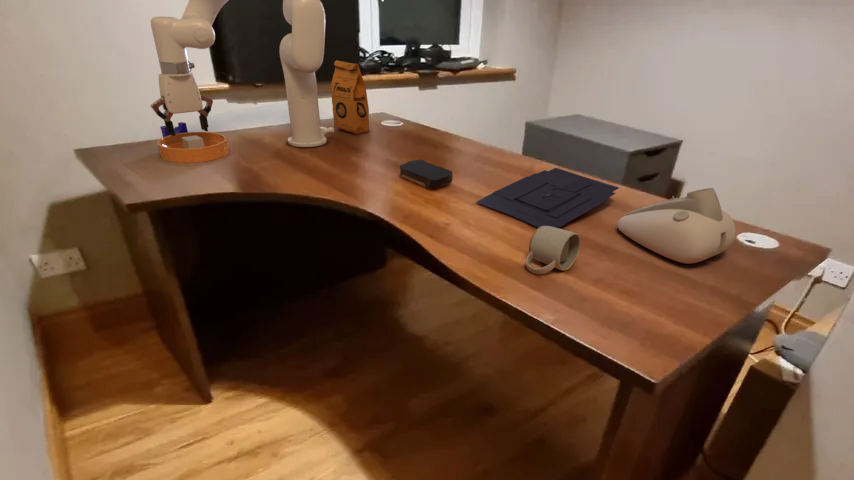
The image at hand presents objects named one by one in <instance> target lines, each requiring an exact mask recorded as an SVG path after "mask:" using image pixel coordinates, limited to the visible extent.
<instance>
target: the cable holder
mask: <svg viewBox="0 0 854 480" xmlns="http://www.w3.org/2000/svg"><path fill="white" fill-rule="evenodd" d="M160 131H161V134H162V138H163V137H166V136H169V135H170V134H169V133H168V132H167V130H166V126H165V125H162V126H160ZM174 131H175V134H179V133H186V132H189V131H188V127H187V123H186V122H184V121H181V122H179V121H178V122H177V126H174Z"/></svg>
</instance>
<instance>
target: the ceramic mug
mask: <svg viewBox="0 0 854 480" xmlns="http://www.w3.org/2000/svg"><path fill="white" fill-rule="evenodd" d="M580 248H581V237H580V235H579V234H578V233H577V232H575V231H571V230H566V229H562V228H555V227H551V226H541V227H537V228H536V229H535V230H534V232H533V233H532V235H531V237H530V239H529V243H528V251H529V253H528V255H527V256H526V259H525V265H526V269H527V270H528V271H529V272H530V273H531V274H534V275H544V274H547V273H549V272H551V271H552V270H553V269H557V270H559V271H563V272H565V271H568V270H569V269H570V268H571V267H572V266H573V265H574V263H575V262H576V260H577V258H578V255H579V252H580ZM533 259H534V260H536V261H538V262H540V263H541V264H542V263H543V264H545V266H542V267H538V268H537V267H533V266H532V265H531V264H530V263H531V261H532V260H533Z"/></svg>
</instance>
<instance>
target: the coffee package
mask: <svg viewBox="0 0 854 480" xmlns="http://www.w3.org/2000/svg"><path fill="white" fill-rule="evenodd" d="M333 65H334V68H335V69H334V72H333V74H332V80H331V82H330V93H331V104H332V116H333V124H334V125H333V128H336V129H338V130H342V131H345V132H347V133H350V134H351V133H352V134H354V135H358V134H363V133H368V132H370V108H369V101H368V100H369V99H368V95H367V87H366V86H365V85H366V84H365V80H364V78H363V75H362V72H361V69H360V66H359V64H358V63H351V62H347V61H341V60H335V61H334V62H333Z"/></svg>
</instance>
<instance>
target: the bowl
mask: <svg viewBox="0 0 854 480" xmlns="http://www.w3.org/2000/svg"><path fill="white" fill-rule="evenodd" d="M195 135H197V136H199V137H201V138H203V143H204V147H202V148H190V149H184V146H183V142H182V137H188V136H195ZM156 144H157V148H158V151H159V156H160V158H161V159H162V160H164V161H166V162H170V163H177V164H181V163H182V164H194V163H204V162H210V161H215V160H218V159H221V158H224V157H226V156H227V155H228V154H229V152H230V147H229V142H228V138H227V137H226V135H224V134H222V133H219V132H214V131H213V132H212V131H188V132H186V133H179V134H175V136H172V135H169V136H166V137H163V136H162V137H161V138H160V139H158V140H157V142H156Z"/></svg>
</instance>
